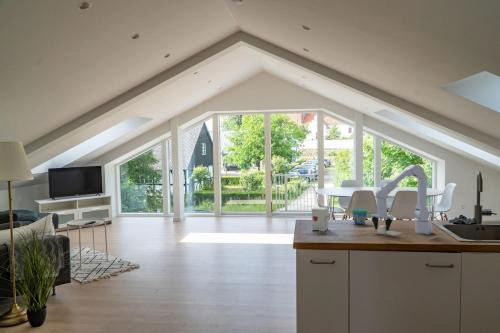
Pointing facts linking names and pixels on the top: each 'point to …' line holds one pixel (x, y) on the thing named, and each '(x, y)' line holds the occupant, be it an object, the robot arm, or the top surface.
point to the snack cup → (359, 215)
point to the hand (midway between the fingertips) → (381, 229)
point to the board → (391, 233)
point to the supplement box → (319, 218)
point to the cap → (382, 229)
